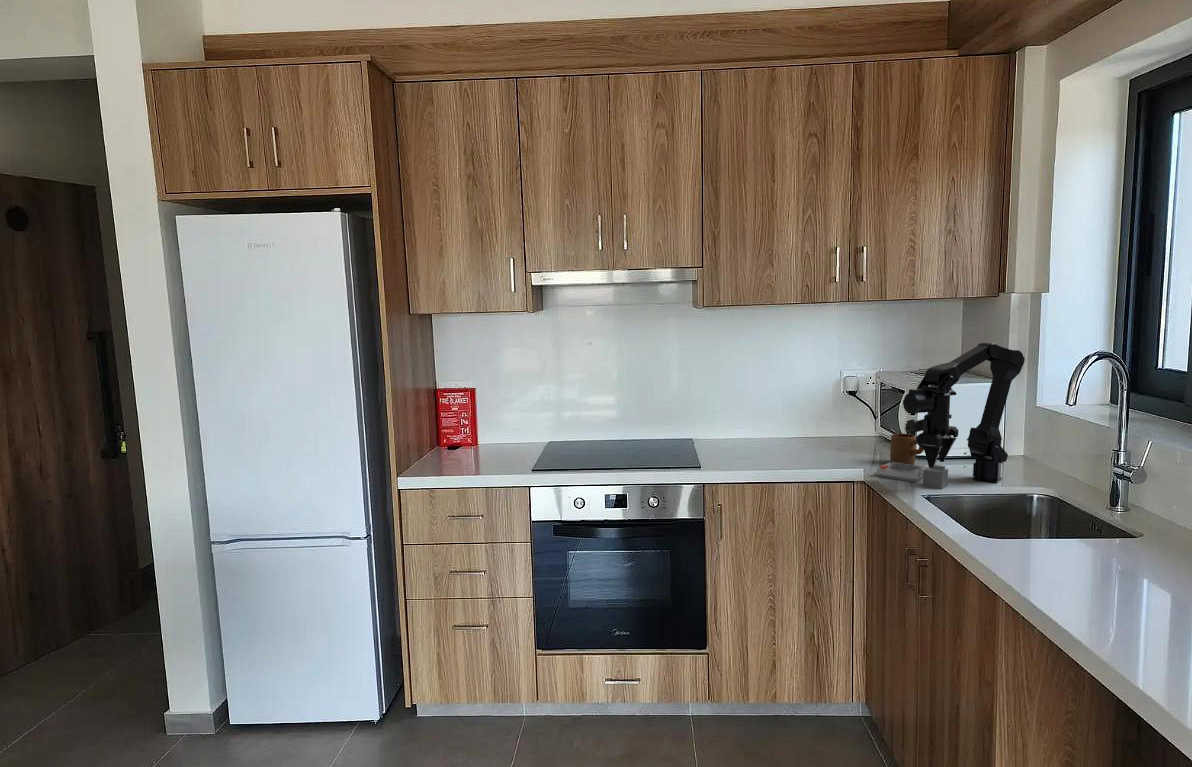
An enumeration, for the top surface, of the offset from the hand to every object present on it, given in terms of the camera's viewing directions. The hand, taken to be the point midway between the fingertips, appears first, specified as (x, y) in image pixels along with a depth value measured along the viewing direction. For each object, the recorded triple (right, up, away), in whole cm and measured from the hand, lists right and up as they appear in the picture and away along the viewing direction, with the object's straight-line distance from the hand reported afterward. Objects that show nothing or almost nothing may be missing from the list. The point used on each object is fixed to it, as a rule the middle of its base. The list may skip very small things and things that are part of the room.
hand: (936, 464), depth 214 cm
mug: (+3, -3, +27) cm, 28 cm away
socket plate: (-4, -5, +14) cm, 15 cm away
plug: (0, -6, +1) cm, 7 cm away
